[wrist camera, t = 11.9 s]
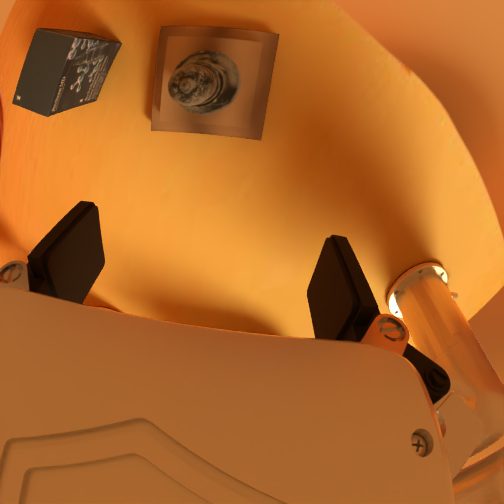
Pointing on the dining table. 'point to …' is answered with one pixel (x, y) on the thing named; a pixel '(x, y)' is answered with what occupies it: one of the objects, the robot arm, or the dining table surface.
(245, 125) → the plinth
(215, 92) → the salt shaker
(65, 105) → the box
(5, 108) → the dining table surface
